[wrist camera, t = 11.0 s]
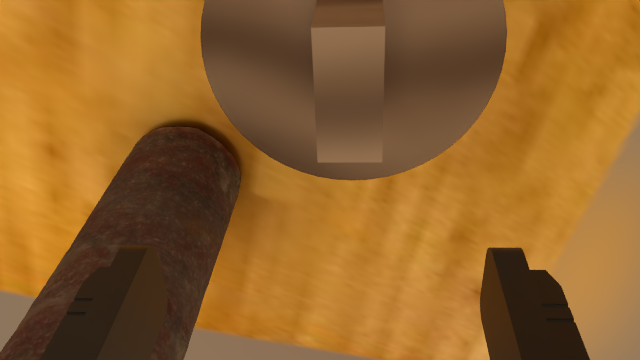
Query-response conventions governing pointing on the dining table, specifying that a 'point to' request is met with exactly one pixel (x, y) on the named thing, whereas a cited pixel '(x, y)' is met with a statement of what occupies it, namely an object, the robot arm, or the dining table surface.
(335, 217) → the dining table surface
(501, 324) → the robot arm
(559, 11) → the dining table surface
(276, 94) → the lid
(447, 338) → the dining table surface
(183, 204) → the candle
